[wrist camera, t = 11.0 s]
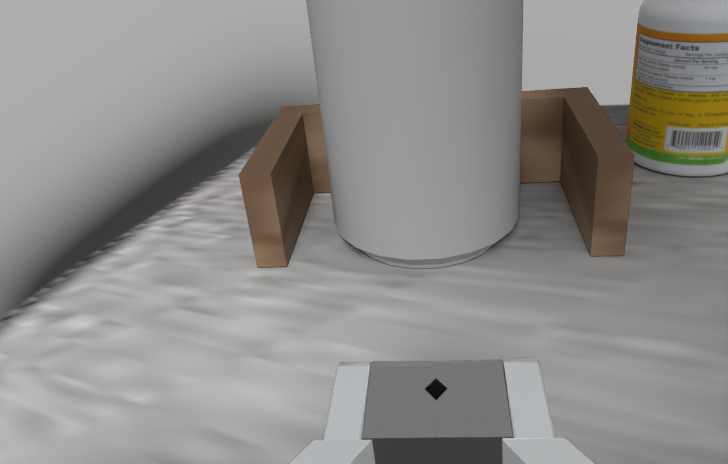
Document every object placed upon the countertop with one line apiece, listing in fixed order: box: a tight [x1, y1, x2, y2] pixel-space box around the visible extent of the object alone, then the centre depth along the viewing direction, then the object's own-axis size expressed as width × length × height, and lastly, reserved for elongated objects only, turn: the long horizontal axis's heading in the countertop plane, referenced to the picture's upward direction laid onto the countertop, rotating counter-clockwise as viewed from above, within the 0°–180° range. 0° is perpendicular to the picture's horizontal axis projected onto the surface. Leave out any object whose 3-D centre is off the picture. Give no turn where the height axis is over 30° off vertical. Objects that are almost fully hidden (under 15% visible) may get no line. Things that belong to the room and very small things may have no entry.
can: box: [306, 0, 523, 269], centre depth 25 cm, size 8×8×12 cm
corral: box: [239, 87, 635, 267], centre depth 28 cm, size 14×8×4 cm, turn 85°
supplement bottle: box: [626, 0, 728, 177], centre depth 29 cm, size 5×5×10 cm
